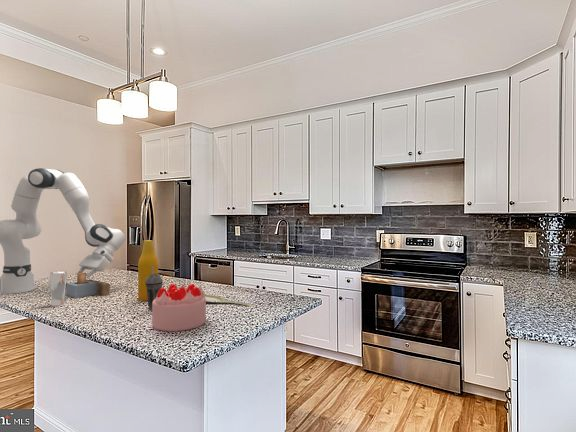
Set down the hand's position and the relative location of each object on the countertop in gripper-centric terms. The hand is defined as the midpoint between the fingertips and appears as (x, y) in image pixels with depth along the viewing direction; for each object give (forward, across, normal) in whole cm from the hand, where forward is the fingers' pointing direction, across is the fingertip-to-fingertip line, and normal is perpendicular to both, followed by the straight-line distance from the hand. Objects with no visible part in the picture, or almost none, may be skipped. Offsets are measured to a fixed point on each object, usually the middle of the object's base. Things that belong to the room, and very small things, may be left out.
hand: (82, 275), depth 179 cm
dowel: (+7, 0, +6) cm, 9 cm away
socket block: (+7, 0, +7) cm, 10 cm away
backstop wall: (+3, +2, +11) cm, 12 cm away
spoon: (-14, +73, +29) cm, 79 cm away
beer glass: (+19, +12, -4) cm, 22 cm away
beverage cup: (+4, +54, +11) cm, 55 cm away
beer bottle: (-3, +36, +17) cm, 40 cm away
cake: (+8, +80, +6) cm, 81 cm away
